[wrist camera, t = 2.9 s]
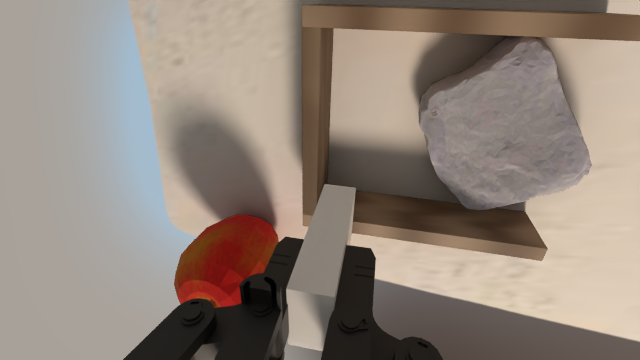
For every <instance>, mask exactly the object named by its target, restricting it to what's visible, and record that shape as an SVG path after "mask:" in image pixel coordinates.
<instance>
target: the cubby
mask: <svg viewBox="0 0 640 360" xmlns="http://www.w3.org/2000/svg"><path fill="white" fill-rule="evenodd" d="M333 28H342V29H366V30H389V31H413V32H436V33H460V34H483V35H507V36H530V37H553V38H577V39H600V40H624V41H640V15H630V14H615V13H593V12H560V11H527V10H494V9H462V8H429V7H396V6H363V5H330V4H313V5H302V159H303V226H309V225H310V223H311V220H312V217H313V214H314V212H315V209H316V206H317V204H318V201H319V198H320V195H321V193H322V190H323V187H324V184H327V178H328V153H329V127H330V102H331V77H332V52H333ZM352 233H356V234H363V235H370V236H377V237H384V238H390V239H397V240H404V241H411V242H418V243H424V244H431V245H438V246H445V247H451V248H458V249H465V250H472V251H479V252H485V253H492V254H499V255H506V256H513V257H519V258H526V259H533V260H540V261H542V260H543V258H544V256H545V253H546V251H547V247H546V245H545V244H544V242H543V240H542V239H541V237H540V236H539V234H538V232H537V231H536V229H535V227H534V226H533V224H532V222H531V221H530V219H529V217H528V216H527V214H526V212H522V211H514V210H506V209H498V208H491V209H488V210H476V209H468V208H466V207H464V206H463V205H462V204H458V203H450V202H442V201H434V200H426V199H418V198H410V197H402V196H394V195H386V194H378V193H370V192H362V191H355V202H354V213H353V224H352Z"/></svg>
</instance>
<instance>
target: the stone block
mask: <svg viewBox="0 0 640 360" xmlns="http://www.w3.org/2000/svg"><path fill="white" fill-rule="evenodd" d="M419 124H420V127H421V130H422V131H423V132H424V136H425V139H426V144H427V150H428V153H429V155H430V160H431V162H432V164H433V167H434V170H435V172H436V174H437V176H438V177H439V178H440V180H441V181H442V182H443V183H444V184H445V185H447V186H448V188H449V190H450V191H451V192H452V193H453V194H454V195H455V196H456V197H457V199H458V200H459V201H460V203H461V204H462V205H463V206H464V207H466V208H468V209H476V210H488V209H491V208H495V207H499V206H505V205H510V204H515V203H519V202H525V201H527V200H529V199H531V198H534V197H537V196H544V195H550V194H553V193H557V192H560V191H564V190H566V189H568V188H570V187H572V186H575V185H577V184H578V183H579V182H580V181H581V179H582V178H583V176H584V175H587V174H588V173H589V170H590V168H591V166H592V164H591V161H590V156H589V152H588V149H587V146H586V144H585V142H584V139H583V137H582V134H581V131H580V128H579V126H578V124H577V121H576V119H575V117H574V115H573V113H572V111H571V109H570V107H569V105H568V103H567V100H566V98H565V95H564V93H563V90H562V86H561V83H560V80H559V78H558V72H557V65H556V62H555V60H554V56H553V54H552V52H551V50H550V48H549V47H548V46H547V45H546V43H545V42H543V41H540V40H538V39H537V38H536V37H530V36H508V37H506V38H505V39H503V40H502V41H501V42H499V43H498V44H497V45H496V46H495V47H494V48H492V49H491V50H489V52H488V53H487V54H485V55H484V56H483V57H481V58H480V59H478V60H477V61H476V62H475V63H474V64H473V66H471V67H470V68H468V69H466V70H464V71H462V72H459V73H457V74H452V75H449V76H447V77H445V78H443V79H442V80H440V81H437V82H435V83H433V84H432V85H431V86H430V87H429V89H428V90H427V91H426V92H425V93H424V94H423V96H422V98H421V101H420V108H419Z"/></svg>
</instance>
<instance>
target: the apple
mask: <svg viewBox="0 0 640 360" xmlns="http://www.w3.org/2000/svg"><path fill="white" fill-rule="evenodd" d="M278 243H279V241H278V235H277V233H276V232H275V230H274V229H273V227H272V226H271V225H270V224H268V223H267V222H265V221H264V220H262V219H260V218H257V217H253V216H250V215H234V216H231V217H228V218H226V219H224V220H222V221H220V222H218V223H216V224H214V225H211V226H209V227H207V228H206V229H205V230H204V231H203V232H202V233H201V234H200V235H199V236H198V237H197V238H196V239H195V240H194V241H193V242H192V243H191V244H190V245H189V246H188V247H187V249H186V250H185V251H184V252H183V253H182V254H181V257H180V260H179V264H178V267H177V271H176V275H175V282H174V285H175V289H176V293H177V296H178V299H179V301H180V303H181V304H182V303H183V302H186V301H188V300H191V299H196V298H202V299H207V300H208V301H210V302H211V303H212V304H213V306H214V308H217V307H226V306H233V305H237V304H240V303H241V295H240V288H239V285H240V284H241V282H242V281H243V280H244V279H246V278H247V277H249V276H250V275H254V274H258V273H264V270H265V268H266V266H267V264H268V263H269V260H270V258H271V256H272V254H273V251H274V249H275V247H276V245H277V244H278Z"/></svg>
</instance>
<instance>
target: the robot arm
mask: <svg viewBox="0 0 640 360" xmlns="http://www.w3.org/2000/svg"><path fill="white" fill-rule="evenodd" d="M355 191H356V188H355V187H346V186H338V185H329V184H324V187H323V190H322V193H321V195H320V198H319V201H318V204H317V206H316V209H315V212H314V214H313V217H312V220H311V223H310V225H309V228H308V231H307V233H306V236H305V239H297V238H290V237H285V238H284V239H282V240H281V241H280V242H279V243H278V244H277V245H276V247H275V249H274V251H273V254H272V256H271V258H270V260H269V263H268V264H267V266H266V268H265V270H264V273H258V274H254V275H250V276H249V277H247V278H246V279H244V280H243V281H242V282H241V284H240V285H239V288H240V295H241V303H240V304H237V305H233V306H226V307H217V308H214V306H213V304H212V303H211V302H210V301H208V300H207V299H202V298H196V299H191V300H188V301H186V302H183V303H182V304H181V305H179V306H178V307H177V308H176V309H174V310H173V311H172V313H170V314H169V315H168V316H167V317H166V318H165V319H164V320H163V321H162V322H161V323H160V324H159V325H158V326H157V327H156V328H155V329H154V330H153V331H152V332H151V333H150V334H149V335H148V336H147V337H146V338H145V339H144V340H143V341H142V342H141V343H140V344H139V345H138V346H137V347H136V348H135V349H134V350H132V351H131V353H130V354H128V355H127V356H126V357H125V358H124V359H123V360H284V347H285V344H286V341H287V338H288V344H289V345H295V346H299V347H304V348H310V349H314V350H320V351H323V352H322V357H321V360H443V359H442V357H441V355H440V353H439V352H438V350H437V349H436V348H435V347H434V346H433V345H432V344H431V343H430V342H428V341H426V340H424V339H422V338H417V337H408V338H404V339H402V340H399V339H396V338H395V337H393V336H391V335H389V334H387V333H386V332H384V331H383V330H382V329H381V328H380V327H379V326H378V325H377V323H376V322H375V320H374V318H373V312H372V307H373V291H374V276H375V261H376V258H375V256H374V254H373V252H372V250H371V248H364V247H357V246H350V240H351V234H352V224H353V213H354V202H355Z"/></svg>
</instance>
